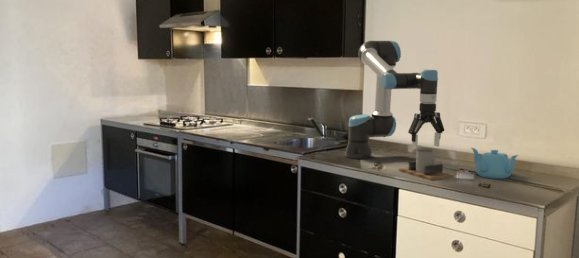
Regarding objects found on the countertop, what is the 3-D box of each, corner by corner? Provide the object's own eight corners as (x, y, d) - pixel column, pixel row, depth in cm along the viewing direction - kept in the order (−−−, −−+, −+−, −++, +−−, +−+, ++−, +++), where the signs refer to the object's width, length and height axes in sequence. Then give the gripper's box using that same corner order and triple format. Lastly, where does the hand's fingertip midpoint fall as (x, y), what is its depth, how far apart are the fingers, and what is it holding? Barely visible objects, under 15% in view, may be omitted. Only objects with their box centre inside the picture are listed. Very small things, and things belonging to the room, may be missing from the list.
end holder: (398, 170, 240) (399, 160, 240) (420, 168, 247) (421, 157, 246) (430, 180, 221) (430, 169, 220) (453, 177, 227) (453, 166, 227)
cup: (419, 168, 240) (420, 148, 238) (436, 170, 235) (437, 150, 233) (413, 171, 233) (413, 151, 231) (429, 174, 228) (430, 153, 227)
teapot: (476, 179, 223) (478, 153, 221) (469, 170, 241) (470, 146, 239) (517, 181, 220) (518, 154, 218) (506, 172, 238) (508, 147, 236)
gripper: (412, 104, 220) (410, 151, 224) (453, 102, 231) (451, 146, 235) (401, 103, 227) (399, 148, 230) (442, 101, 238) (439, 143, 241)
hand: (425, 147), depth 232 cm, fingers open, 13 cm apart
